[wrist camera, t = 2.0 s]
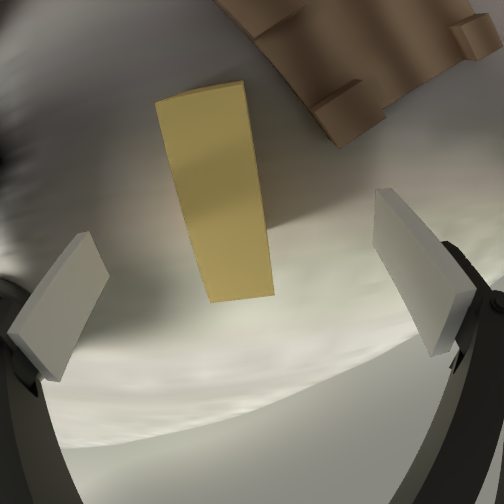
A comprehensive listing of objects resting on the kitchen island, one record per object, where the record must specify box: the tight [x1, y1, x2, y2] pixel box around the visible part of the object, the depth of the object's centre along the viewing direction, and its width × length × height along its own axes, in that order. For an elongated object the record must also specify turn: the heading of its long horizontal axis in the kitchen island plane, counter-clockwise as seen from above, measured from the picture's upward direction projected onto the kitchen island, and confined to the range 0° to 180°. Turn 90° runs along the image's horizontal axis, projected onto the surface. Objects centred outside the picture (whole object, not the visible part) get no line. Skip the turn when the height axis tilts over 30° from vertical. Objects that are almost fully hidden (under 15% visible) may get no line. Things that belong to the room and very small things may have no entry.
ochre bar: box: [155, 80, 275, 303], centre depth 18 cm, size 12×4×8 cm, turn 8°
